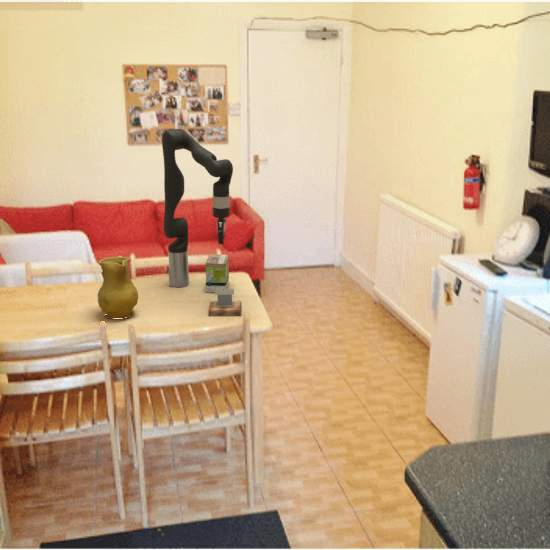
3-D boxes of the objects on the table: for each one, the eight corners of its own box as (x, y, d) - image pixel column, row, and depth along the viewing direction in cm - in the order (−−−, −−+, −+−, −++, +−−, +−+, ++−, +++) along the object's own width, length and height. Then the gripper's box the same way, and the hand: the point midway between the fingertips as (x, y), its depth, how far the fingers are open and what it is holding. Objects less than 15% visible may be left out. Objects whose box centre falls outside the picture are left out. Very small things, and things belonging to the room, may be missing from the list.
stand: (208, 316, 293) (208, 310, 292) (210, 306, 304) (210, 300, 304) (240, 315, 293) (240, 310, 293) (241, 305, 305) (241, 300, 304)
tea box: (226, 293, 321) (226, 263, 316) (205, 292, 321) (204, 263, 317) (229, 282, 335) (228, 253, 331) (209, 282, 336) (208, 253, 331)
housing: (233, 307, 296) (233, 292, 294) (215, 307, 296) (215, 292, 294) (234, 303, 301) (234, 288, 299) (216, 303, 301) (215, 288, 298)
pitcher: (96, 322, 285) (93, 265, 279) (100, 308, 303) (98, 254, 296) (138, 321, 288) (136, 264, 281) (139, 307, 306) (138, 253, 299)
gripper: (213, 201, 303) (214, 236, 309) (211, 209, 290) (212, 245, 295) (230, 201, 303) (230, 236, 309) (229, 209, 290) (229, 246, 295)
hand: (221, 241), depth 302 cm, fingers open, 8 cm apart
